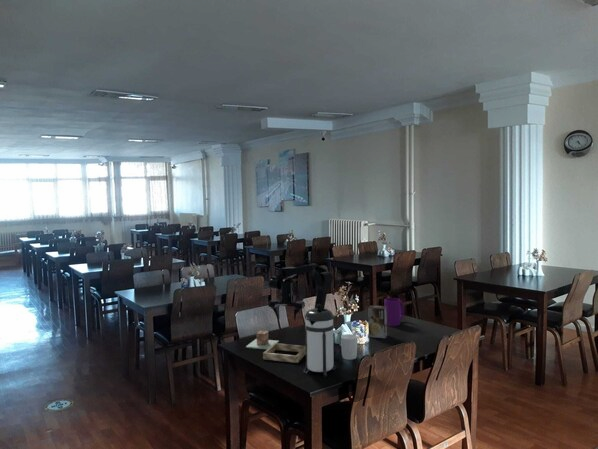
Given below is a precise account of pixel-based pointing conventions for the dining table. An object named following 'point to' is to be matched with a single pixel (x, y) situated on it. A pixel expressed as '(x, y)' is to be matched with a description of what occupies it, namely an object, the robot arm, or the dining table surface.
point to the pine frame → (283, 357)
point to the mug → (394, 311)
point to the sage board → (254, 345)
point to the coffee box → (377, 321)
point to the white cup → (349, 346)
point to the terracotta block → (262, 338)
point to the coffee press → (319, 340)
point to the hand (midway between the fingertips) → (286, 320)
